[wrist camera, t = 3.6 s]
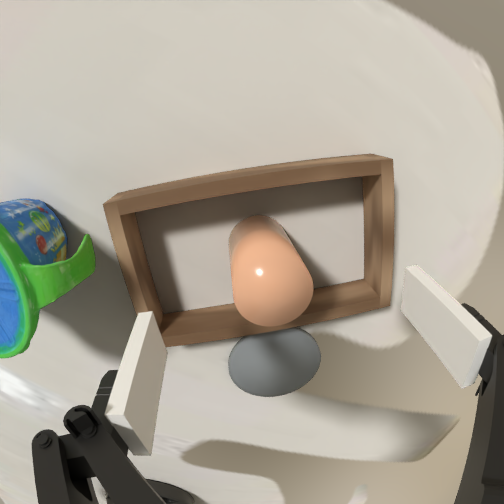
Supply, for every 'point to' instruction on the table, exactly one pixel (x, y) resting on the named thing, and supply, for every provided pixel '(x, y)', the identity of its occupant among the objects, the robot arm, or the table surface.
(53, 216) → the snack cup
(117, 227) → the tray
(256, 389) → the slate coaster
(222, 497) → the table surface
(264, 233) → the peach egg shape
